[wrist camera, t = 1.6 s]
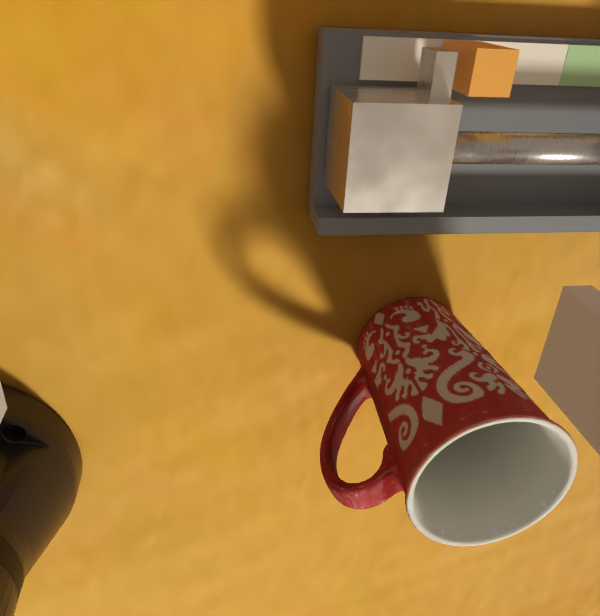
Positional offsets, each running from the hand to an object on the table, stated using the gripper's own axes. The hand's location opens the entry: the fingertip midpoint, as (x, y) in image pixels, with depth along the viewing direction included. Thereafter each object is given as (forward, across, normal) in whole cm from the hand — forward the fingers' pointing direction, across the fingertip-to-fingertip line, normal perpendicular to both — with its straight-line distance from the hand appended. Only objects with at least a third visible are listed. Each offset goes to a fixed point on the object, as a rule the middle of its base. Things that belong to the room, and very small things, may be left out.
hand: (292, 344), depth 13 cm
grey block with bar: (+19, +14, +2) cm, 24 cm away
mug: (+21, +10, -14) cm, 27 cm away
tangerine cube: (+19, +11, +4) cm, 22 cm away
